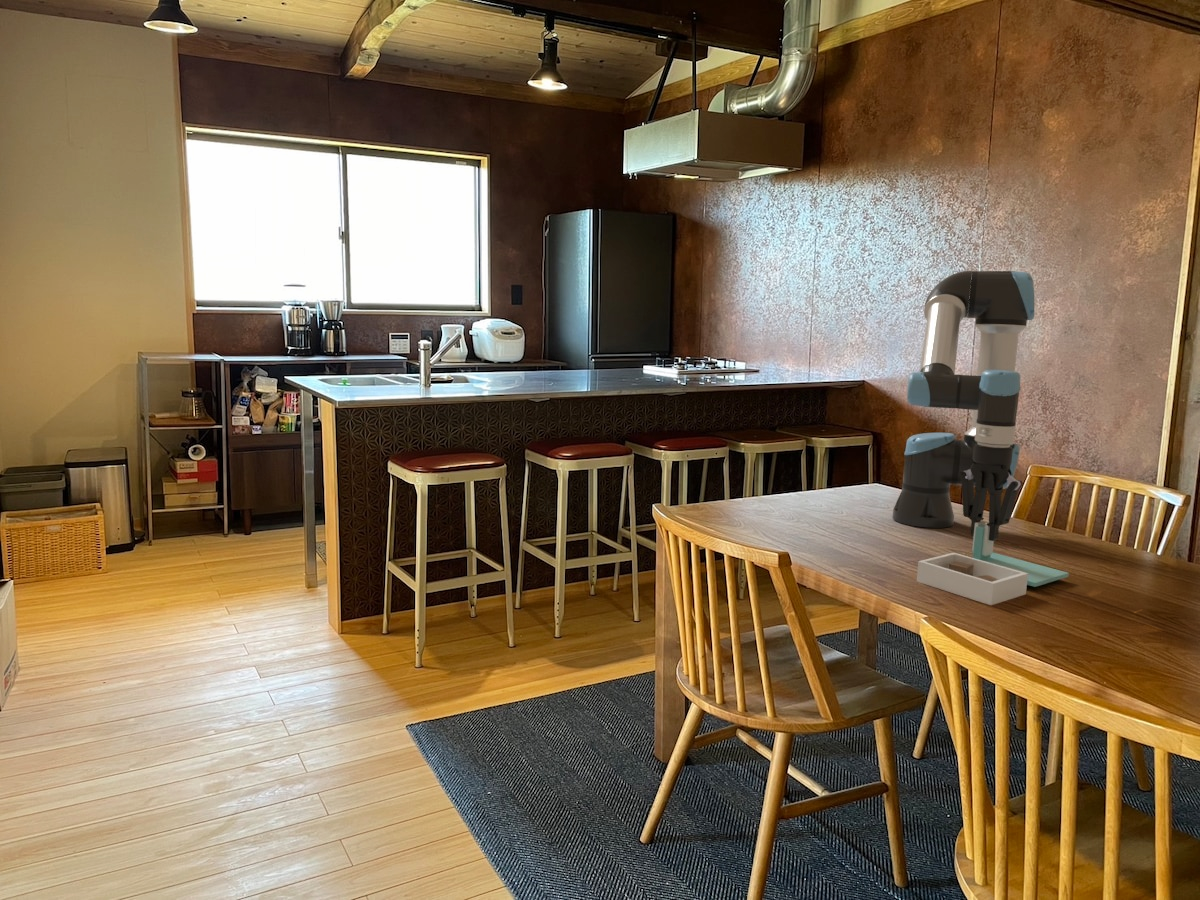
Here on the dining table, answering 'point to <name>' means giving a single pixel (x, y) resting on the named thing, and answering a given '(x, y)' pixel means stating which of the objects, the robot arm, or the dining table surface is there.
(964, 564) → the walnut block
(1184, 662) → the dining table surface
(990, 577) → the walnut block
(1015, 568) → the lid
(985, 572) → the tub
